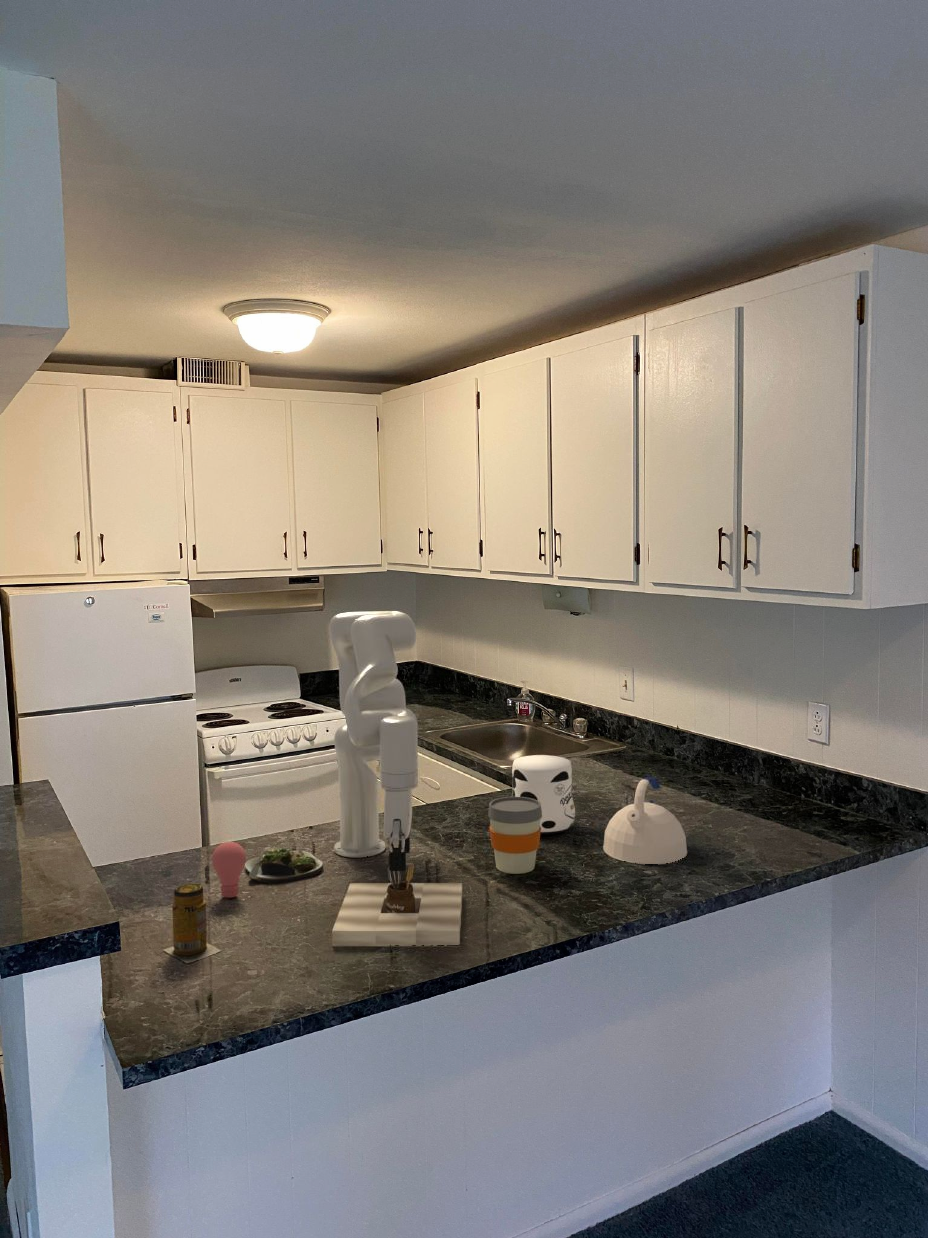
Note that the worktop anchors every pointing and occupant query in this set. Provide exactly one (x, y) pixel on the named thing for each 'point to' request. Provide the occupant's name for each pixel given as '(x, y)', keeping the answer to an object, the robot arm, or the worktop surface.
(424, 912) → the socket board
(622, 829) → the kettle
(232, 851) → the light bulb
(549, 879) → the worktop surface
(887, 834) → the worktop surface
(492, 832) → the reusable coffee cup
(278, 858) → the salad plate
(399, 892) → the utensil holder
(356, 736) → the robot arm
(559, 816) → the milk container
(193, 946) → the condiment
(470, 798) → the worktop surface
